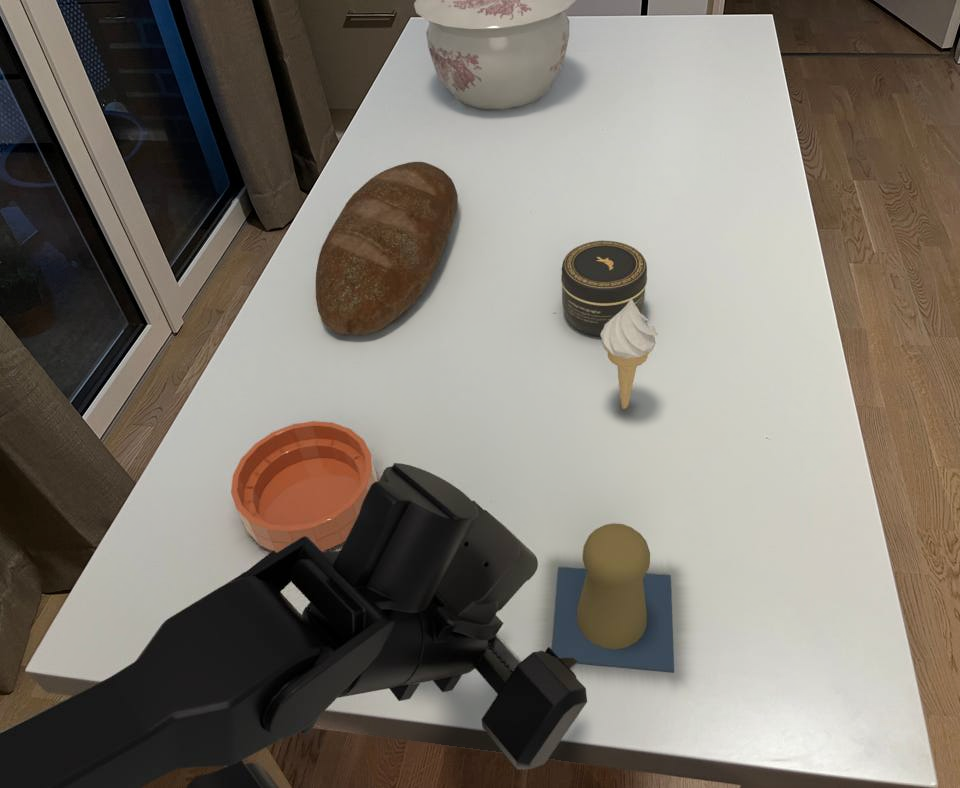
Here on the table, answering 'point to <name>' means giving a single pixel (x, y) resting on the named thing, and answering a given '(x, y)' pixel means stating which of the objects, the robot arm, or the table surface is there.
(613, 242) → the jar
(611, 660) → the mat
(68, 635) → the table surface
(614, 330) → the ice cream cone
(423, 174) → the bread
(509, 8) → the chamber pot
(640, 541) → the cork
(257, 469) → the bowl
